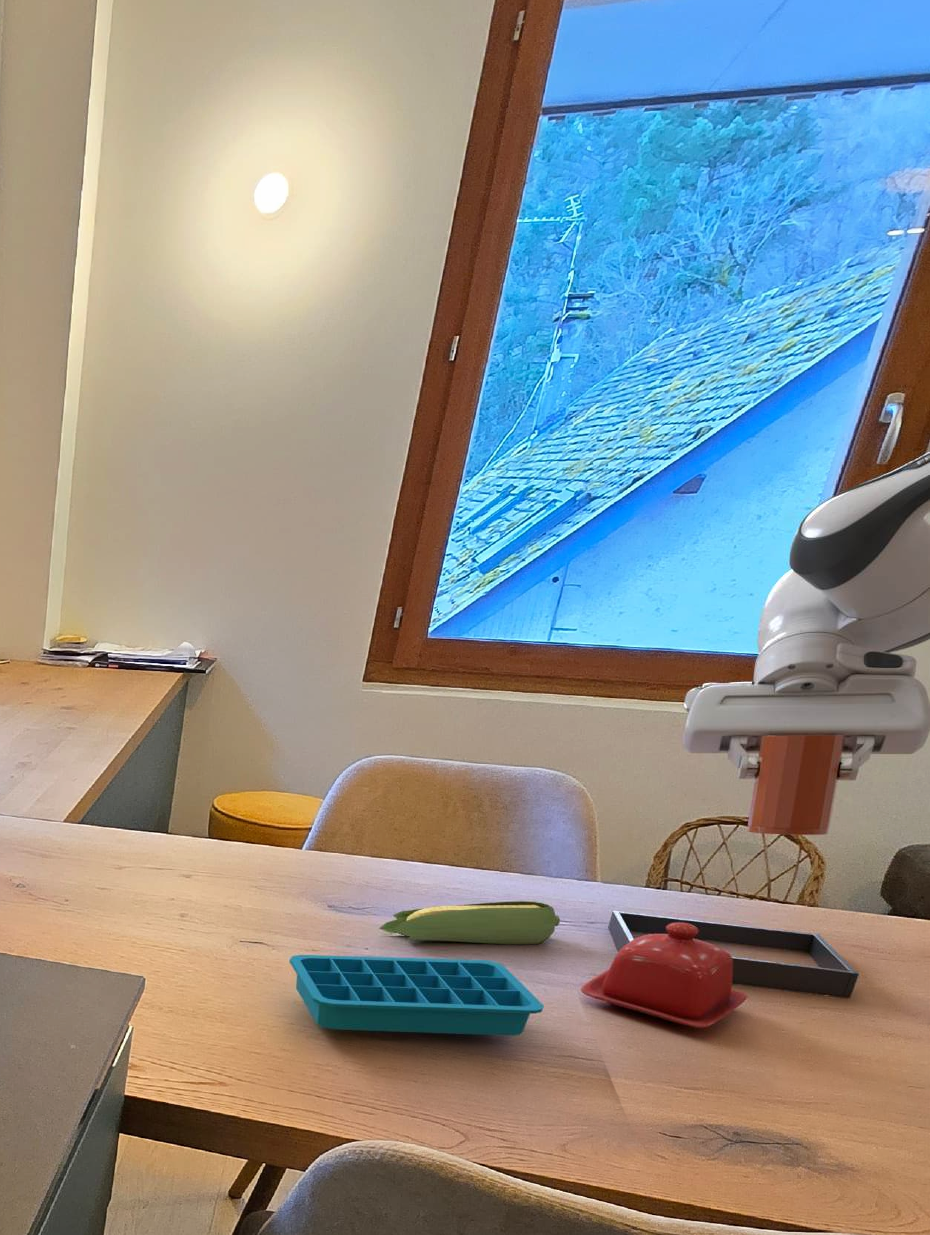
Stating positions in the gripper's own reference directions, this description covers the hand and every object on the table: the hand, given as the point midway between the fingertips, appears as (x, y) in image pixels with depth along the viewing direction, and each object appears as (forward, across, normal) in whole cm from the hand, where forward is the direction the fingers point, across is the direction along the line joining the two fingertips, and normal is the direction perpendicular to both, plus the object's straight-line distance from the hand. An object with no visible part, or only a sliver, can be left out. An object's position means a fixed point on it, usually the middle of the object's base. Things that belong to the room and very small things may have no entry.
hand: (797, 775), depth 122 cm
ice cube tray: (+42, -30, -10) cm, 52 cm away
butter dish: (+30, -9, +2) cm, 31 cm away
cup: (+4, 0, +5) cm, 6 cm away
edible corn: (+21, -28, +6) cm, 35 cm away
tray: (+16, -4, +12) cm, 21 cm away
